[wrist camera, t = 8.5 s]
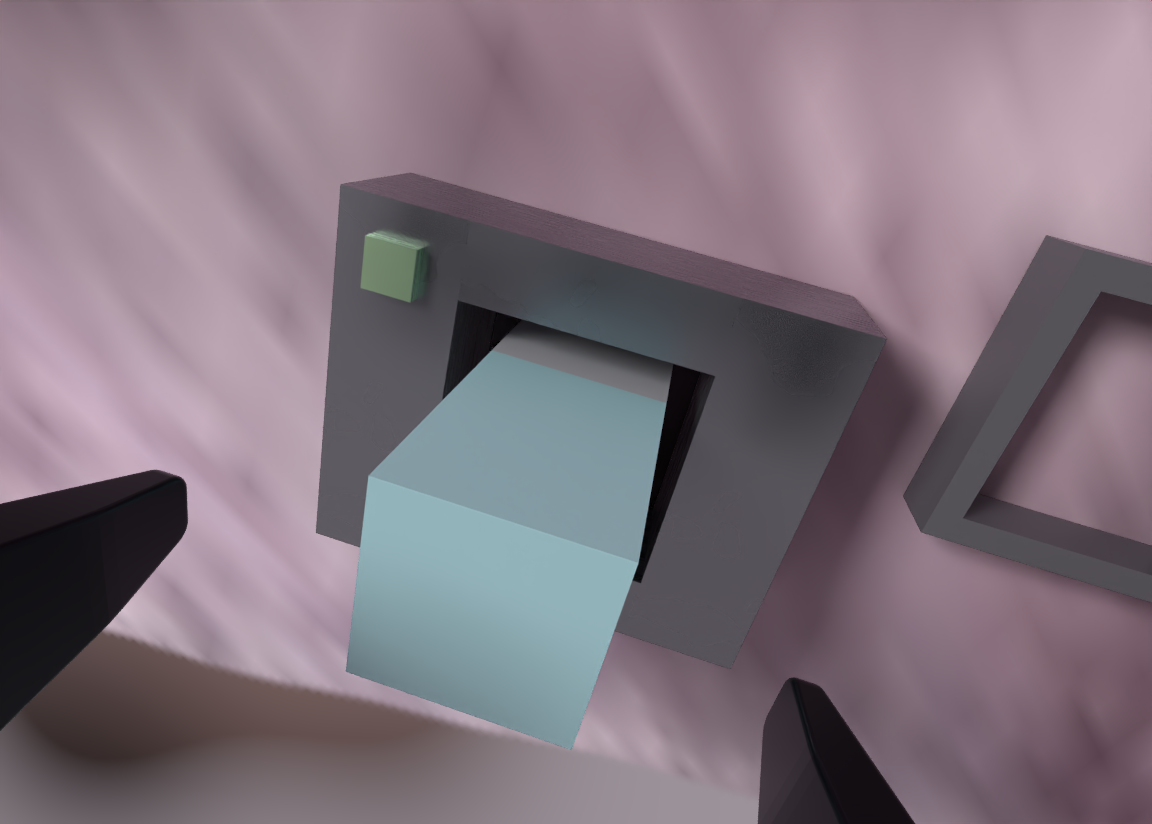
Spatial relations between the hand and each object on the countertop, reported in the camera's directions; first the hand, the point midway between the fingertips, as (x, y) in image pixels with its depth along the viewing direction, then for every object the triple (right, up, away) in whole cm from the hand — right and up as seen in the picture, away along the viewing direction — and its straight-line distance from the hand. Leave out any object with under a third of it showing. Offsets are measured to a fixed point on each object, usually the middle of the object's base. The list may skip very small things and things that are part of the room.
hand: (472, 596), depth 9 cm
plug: (+2, +3, +7) cm, 8 cm away
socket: (+2, +3, +7) cm, 8 cm away
